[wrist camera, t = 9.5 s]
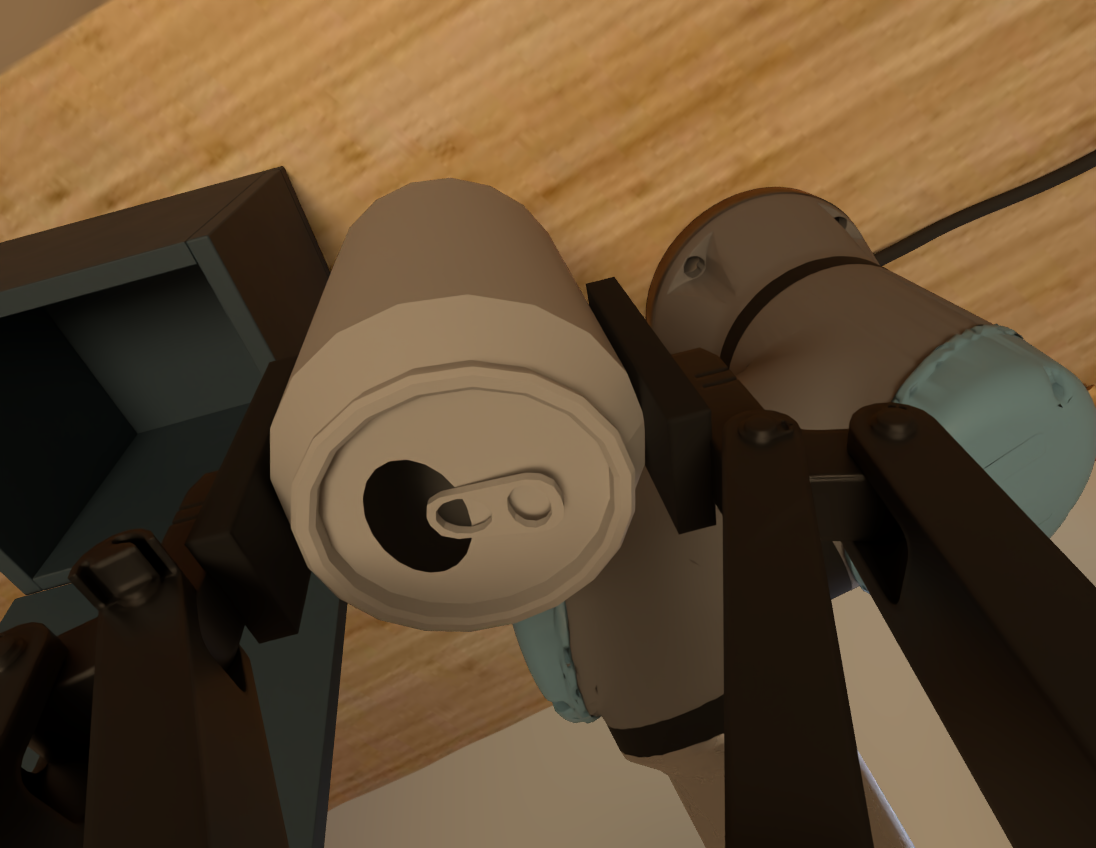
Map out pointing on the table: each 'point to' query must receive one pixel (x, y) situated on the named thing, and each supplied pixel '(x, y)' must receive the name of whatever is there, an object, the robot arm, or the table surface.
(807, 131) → the table surface
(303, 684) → the bin lid
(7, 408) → the bin
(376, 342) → the can
